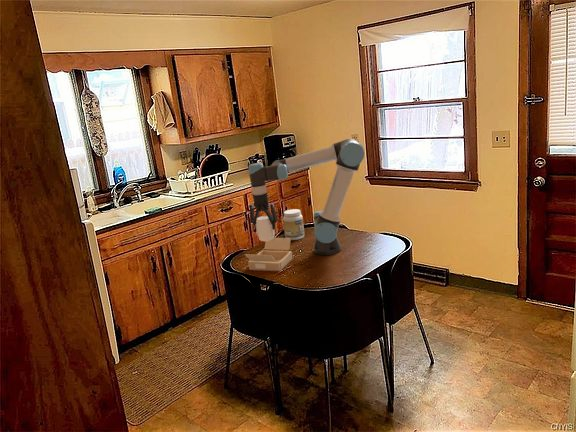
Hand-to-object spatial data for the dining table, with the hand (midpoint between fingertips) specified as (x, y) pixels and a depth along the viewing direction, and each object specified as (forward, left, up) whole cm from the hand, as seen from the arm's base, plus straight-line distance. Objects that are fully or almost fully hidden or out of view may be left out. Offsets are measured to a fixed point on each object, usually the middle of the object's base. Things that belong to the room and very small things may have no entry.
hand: (266, 235), depth 245 cm
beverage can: (0, 0, -3) cm, 3 cm away
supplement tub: (+3, -43, -17) cm, 47 cm away
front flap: (-1, +11, -9) cm, 14 cm away
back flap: (-1, -10, -9) cm, 13 cm away
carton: (-1, 0, -17) cm, 17 cm away
